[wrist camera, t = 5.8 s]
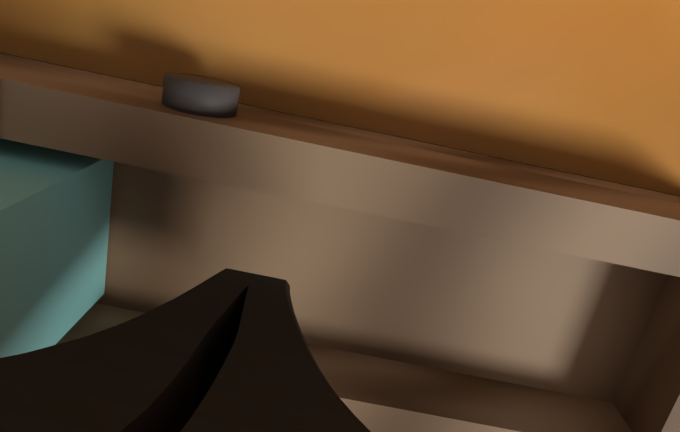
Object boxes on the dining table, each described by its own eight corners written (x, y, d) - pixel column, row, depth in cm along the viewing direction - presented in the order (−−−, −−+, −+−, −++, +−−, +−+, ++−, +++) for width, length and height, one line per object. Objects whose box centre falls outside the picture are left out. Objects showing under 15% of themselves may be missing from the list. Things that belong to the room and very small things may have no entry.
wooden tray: (721, 181, 14) (820, 221, 11) (606, 434, 16) (661, 522, 14) (-322, -41, 13) (-526, -64, 10) (-269, 269, 15) (-416, 325, 12)
